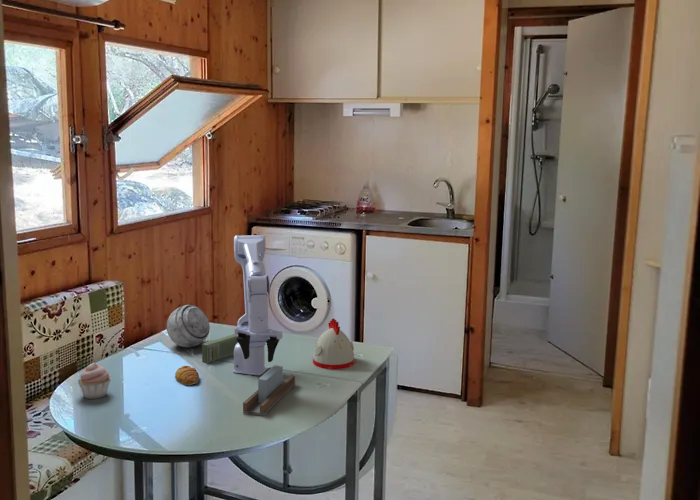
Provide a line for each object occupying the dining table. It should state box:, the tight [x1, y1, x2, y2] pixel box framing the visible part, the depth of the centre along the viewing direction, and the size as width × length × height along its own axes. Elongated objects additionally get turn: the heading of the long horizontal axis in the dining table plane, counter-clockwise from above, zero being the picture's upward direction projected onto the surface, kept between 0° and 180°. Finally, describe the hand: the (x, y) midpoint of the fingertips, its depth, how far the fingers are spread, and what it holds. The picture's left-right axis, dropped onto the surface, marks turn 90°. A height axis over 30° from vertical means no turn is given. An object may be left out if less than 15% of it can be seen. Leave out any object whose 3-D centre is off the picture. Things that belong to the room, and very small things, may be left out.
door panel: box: [257, 364, 284, 403], centre depth 197 cm, size 2×12×7 cm, turn 164°
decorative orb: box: [166, 304, 211, 348], centre depth 241 cm, size 15×14×15 cm
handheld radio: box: [201, 333, 238, 364], centre depth 235 cm, size 7×3×25 cm
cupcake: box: [77, 362, 112, 400], centre depth 197 cm, size 9×9×10 cm
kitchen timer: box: [312, 318, 355, 370], centre depth 227 cm, size 14×14×15 cm
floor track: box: [242, 374, 296, 417], centre depth 197 cm, size 6×24×3 cm, turn 164°
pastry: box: [174, 365, 200, 386], centre depth 210 cm, size 9×7×4 cm
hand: (258, 359), depth 203 cm, fingers open, 7 cm apart
